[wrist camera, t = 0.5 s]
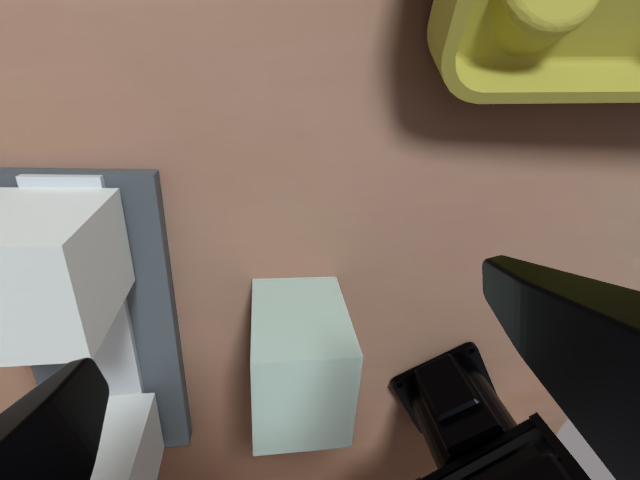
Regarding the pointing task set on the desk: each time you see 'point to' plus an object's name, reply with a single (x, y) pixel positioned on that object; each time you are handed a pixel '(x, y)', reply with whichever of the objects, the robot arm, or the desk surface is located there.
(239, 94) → the desk surface
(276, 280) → the block
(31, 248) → the rail board
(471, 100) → the plastic component
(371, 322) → the desk surface
